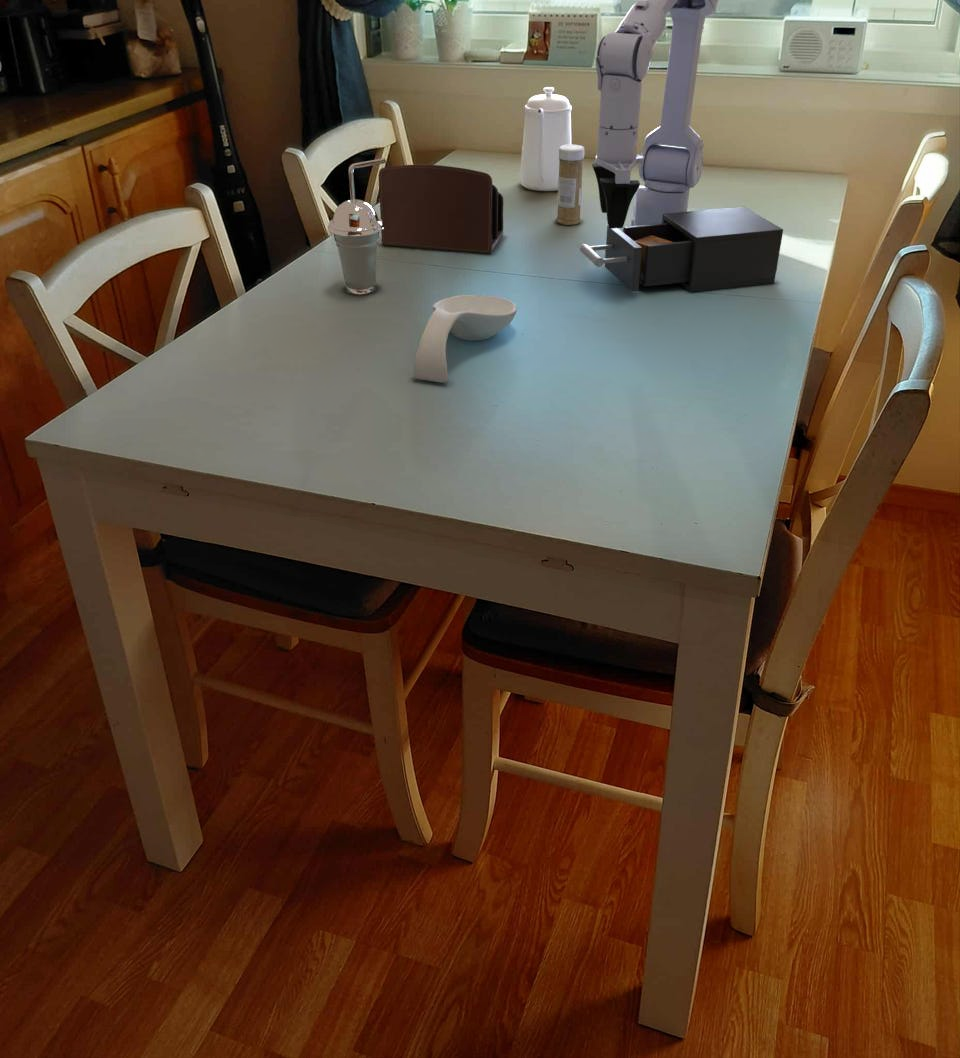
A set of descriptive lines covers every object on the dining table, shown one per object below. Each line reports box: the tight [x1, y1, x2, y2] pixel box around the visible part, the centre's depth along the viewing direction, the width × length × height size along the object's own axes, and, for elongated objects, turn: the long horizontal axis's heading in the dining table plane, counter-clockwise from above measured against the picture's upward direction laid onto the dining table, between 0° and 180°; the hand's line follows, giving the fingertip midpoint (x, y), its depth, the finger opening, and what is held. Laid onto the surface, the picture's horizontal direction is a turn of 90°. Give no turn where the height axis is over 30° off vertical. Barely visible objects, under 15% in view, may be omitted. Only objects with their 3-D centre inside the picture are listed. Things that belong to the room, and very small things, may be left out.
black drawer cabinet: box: [662, 206, 784, 293], centre depth 157 cm, size 15×13×9 cm
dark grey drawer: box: [579, 223, 694, 292], centre depth 154 cm, size 19×11×7 cm, turn 105°
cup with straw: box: [327, 157, 387, 296], centre depth 148 cm, size 8×9×20 cm
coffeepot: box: [519, 86, 573, 192], centre depth 197 cm, size 11×25×19 cm, turn 168°
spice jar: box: [556, 144, 585, 226], centre depth 178 cm, size 5×5×14 cm
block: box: [635, 235, 672, 273], centre depth 154 cm, size 4×4×4 cm
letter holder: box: [378, 164, 504, 255], centre depth 169 cm, size 10×20×14 cm, turn 76°
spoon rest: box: [412, 294, 518, 383], centre depth 133 cm, size 24×12×7 cm, turn 162°
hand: (611, 219), depth 149 cm, fingers open, 7 cm apart
